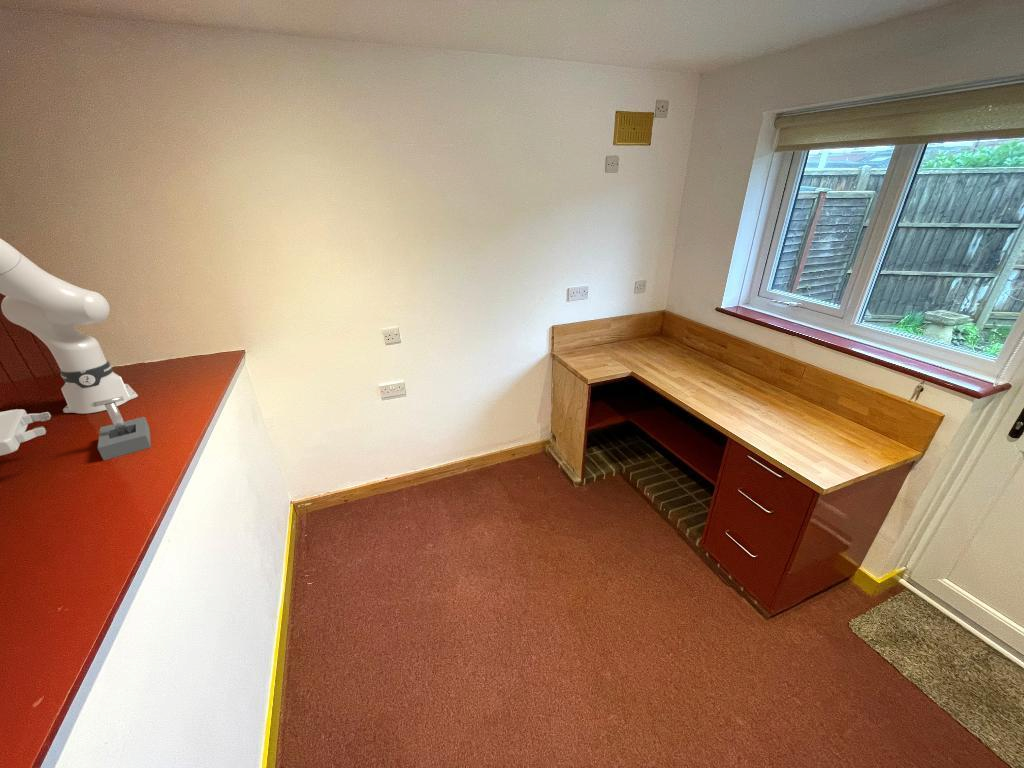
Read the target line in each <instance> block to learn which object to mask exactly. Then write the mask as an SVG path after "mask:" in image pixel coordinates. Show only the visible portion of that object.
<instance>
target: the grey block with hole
mask: <svg viewBox="0 0 1024 768" xmlns="http://www.w3.org/2000/svg"><path fill="white" fill-rule="evenodd" d="M124 423H125V425H126V428H127V430H128V432H129V434H126V435H122V436H119V435H118V433H117V431H116V429H115V426H114V424H113V423H112V424H108V425H105V426H101V427H100V428H99V435H98V442H97V450H98V452H99V455H100V456H101V458H102V460H103V461H107V460H110V459H114V458H118V457H121V456H125V455H129V454H132V453H133V454H134V453H136V452H139V451H143V450H146V449H151V447H152V443H151V431H150V426H149V424H148V421H147V418H146V417H145V416H141V417H137V418H132V419H129V420H125V421H124Z"/></svg>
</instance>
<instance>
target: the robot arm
mask: <svg viewBox="0 0 1024 768" xmlns="http://www.w3.org/2000/svg"><path fill="white" fill-rule="evenodd" d="M0 294H1V295H3V296H4V298H3V299H2V301H1V304H0V308H1V312H2V315H3V316H4V317H5V318H6V319H7V320H8V321H9V322H11V323H12V324H15V325H17V326H20V327H22V328H23V329H25V330H27V331H29V332H31V334H33V335H34V336H36V337H37V338H38V339H39V340H41V341H42V342H43V344H45V346H46V347H47V348H48V349H49V351H50V352H51V354H52V356H53V358H54V359H55V361H56V363H57V365H58V368H59V369H60V370H59V373H60V377H61V378H62V380H63V381H64V382H65V383H64V385H62V387H61V388H60V389H61V392H62V394H63V397H64V399H65V401H66V404H67V405H66V406H65V407H64V408H63V409H62V411H63V413H65V414H68V413H69V414H70V413H75V414H82V415H83V414H92V413H93V414H94V413H98V412H104V411H107V409H106V407H105V405H101V406H96V407H92V406H91V404H92V403H94V402H98V401H103V400H108V399H112V398H117V397H121V396H123V398H124V400H123V401H119V402H115V403H116V405H117V407H119V406H121V405H123V404H125V403H127V402H128V401H130V400H133V399H135V398H137V397H139V395H138V393H137V392H136V391H135V390H134V389H133V388H132V387H131V386H130V385H129V383H124V381H123V379H122V376H120V375H119V374H117V373H116V372H114V369H113V368H112V365H111V363H110V361H109V360H107V359H106V356H105V354H104V352H103V349H102V347H101V345H100V343H99V341H98V340H97V338H95V337H94V336H91V335H88V334H86V333H84V332H82V331H81V330H79V329H78V328H77V327H76V326H88V325H92V324H97V323H101V322H104V321H106V320H107V319H108V317H109V315H110V311H111V309H110V308H111V307H110V304H109V302H108V300H107V299H106V298H105V297H104V296H103V295H102V294H101V293H99V292H97V291H93V290H90V289H85V288H82V287H81V286H77V285H74V284H72V283H70V282H68V281H65V280H63V279H61V278H58V277H57V276H56V275H55V276H54V275H53V274H50V273H49V272H47V271H46V270H44V269H43V268H41V267H39V266H38V265H37V264H36V263H34V262H33V261H31V259H29V258H28V257H26V256H25V255H24V254H23V253H21V252H20V251H18V249H16V248H15V247H13V246H12V245H11V244H10V243H8V242H6V240H3V239H2V238H1V237H0ZM51 417H52V415H51V413H50V412H48V411H46V412H41V413H27V411H26V410H25V409H22V408H21V409H18V408H16V409H9V410H5V411H0V457H1V456H4V455H8V454H11V453H14V452H16V451H18V450H19V447H20V445H21V443H24V442H27V441H30V440H32V439H34V438H37V437H40V436H43V435H46V434H47V433H46V432H47V429H46V428H45V427H44V426H42V425H41V426H37V427H34V428H32V429H29V430H27V428H28V426H29V424H32V423H34V422H46V421H49V420H50V419H51Z"/></svg>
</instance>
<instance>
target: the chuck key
mask: <svg viewBox="0 0 1024 768" xmlns="http://www.w3.org/2000/svg"><path fill="white" fill-rule="evenodd" d="M123 400H124V398H123V396H121V397H117V398H112V399H108V400H103V401H98V402H94V403H92V404H91V406H92V407H96V406H101V405H105V407H106V409H107V410H106V411H107V413H108V415H109V418H110V419H111V422H112V424H114V426H115V429H116V431H117V433H118V435H119V436H122V435H126V434H129V432H128V430H127V428H126V425H125V423H124V422H125V421H124V419H123V417H122V414H121V412H120V410H119V408H118V406H117V405H116V403H115V402H119V401H123Z"/></svg>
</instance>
